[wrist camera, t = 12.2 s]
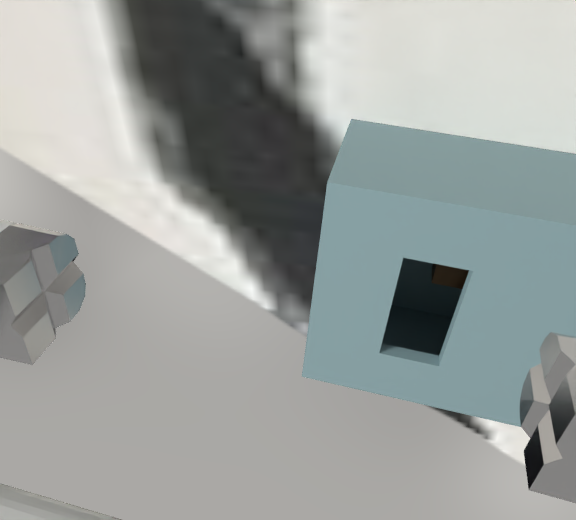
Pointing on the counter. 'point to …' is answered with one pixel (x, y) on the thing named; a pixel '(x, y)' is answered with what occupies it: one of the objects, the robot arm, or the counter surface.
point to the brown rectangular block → (449, 276)
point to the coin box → (449, 252)
